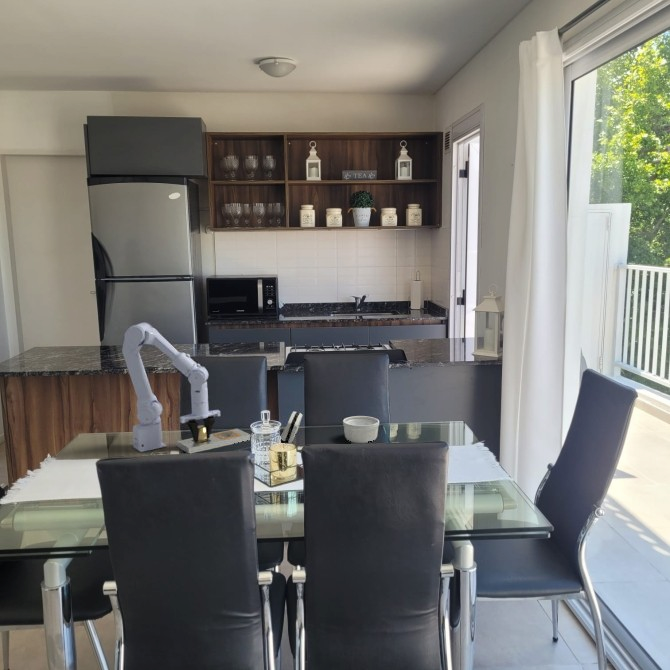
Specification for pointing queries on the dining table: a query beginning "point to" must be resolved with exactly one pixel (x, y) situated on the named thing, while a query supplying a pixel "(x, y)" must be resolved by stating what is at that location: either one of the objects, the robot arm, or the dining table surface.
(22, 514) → the dining table surface
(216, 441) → the grey rectangular board
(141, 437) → the robot arm
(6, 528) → the dining table surface
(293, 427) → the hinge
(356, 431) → the ramekin
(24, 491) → the dining table surface
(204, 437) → the peg
